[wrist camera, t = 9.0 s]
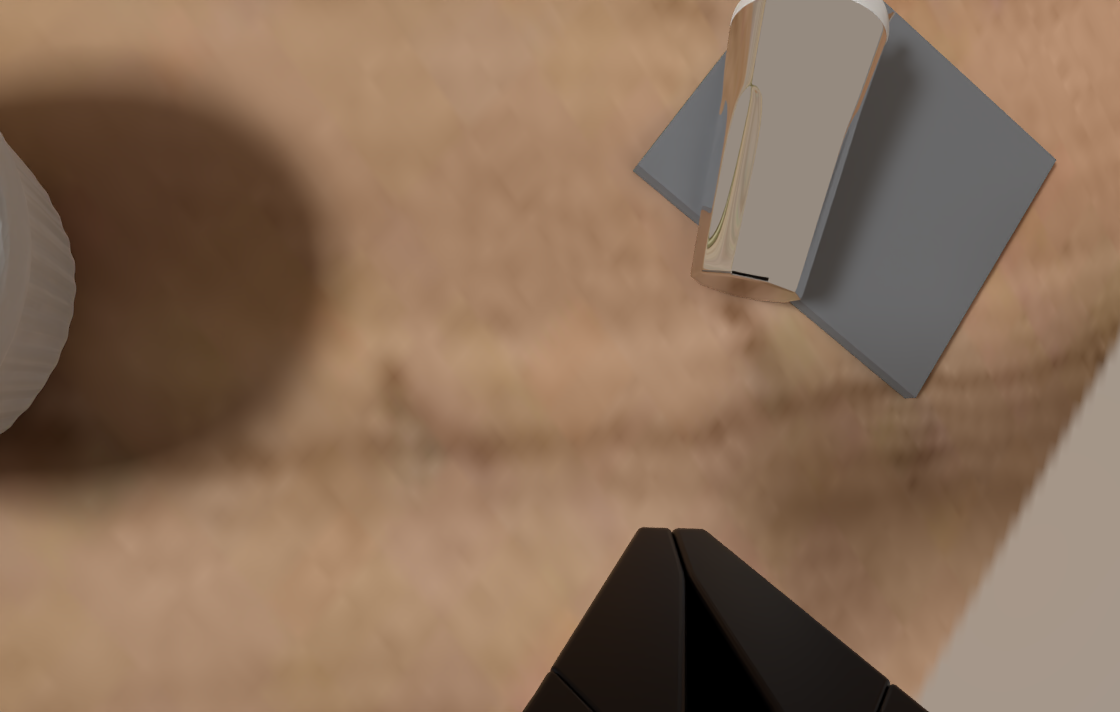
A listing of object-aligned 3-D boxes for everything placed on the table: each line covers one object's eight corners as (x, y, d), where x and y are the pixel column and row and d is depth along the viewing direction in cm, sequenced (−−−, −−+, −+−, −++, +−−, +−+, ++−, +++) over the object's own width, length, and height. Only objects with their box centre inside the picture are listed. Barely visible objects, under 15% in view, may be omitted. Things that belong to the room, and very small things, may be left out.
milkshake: (880, 317, 19) (958, -17, 19) (734, 262, 17) (825, -113, 17) (769, 314, 23) (835, 39, 24) (641, 270, 21) (716, -33, 21)
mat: (905, 398, 23) (915, 397, 22) (633, 170, 22) (637, 164, 21) (1043, 165, 25) (1056, 160, 25) (806, -53, 24) (814, -63, 23)
